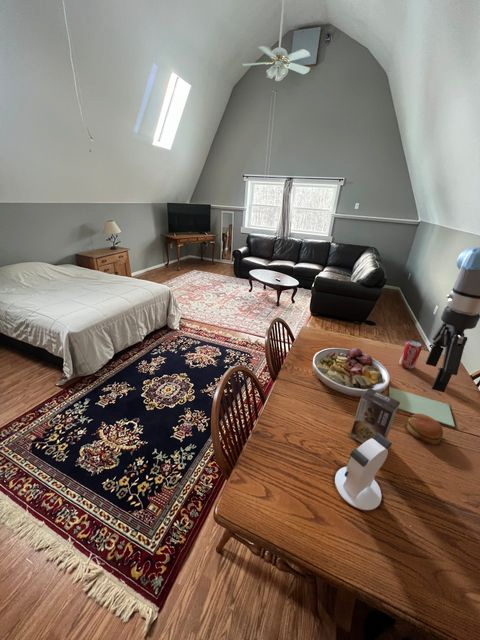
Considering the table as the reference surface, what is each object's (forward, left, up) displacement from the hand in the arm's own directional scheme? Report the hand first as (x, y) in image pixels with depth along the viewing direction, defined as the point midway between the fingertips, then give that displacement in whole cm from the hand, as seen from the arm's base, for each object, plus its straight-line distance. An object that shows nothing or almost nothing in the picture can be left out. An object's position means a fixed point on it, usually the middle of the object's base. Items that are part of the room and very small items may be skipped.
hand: (433, 376), depth 78 cm
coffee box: (+12, +10, -22) cm, 27 cm away
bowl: (+22, -21, -22) cm, 38 cm away
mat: (-4, -16, -22) cm, 28 cm away
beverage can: (-1, -44, -22) cm, 49 cm away
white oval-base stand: (+13, +28, -22) cm, 38 cm away
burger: (-4, -2, -22) cm, 23 cm away
